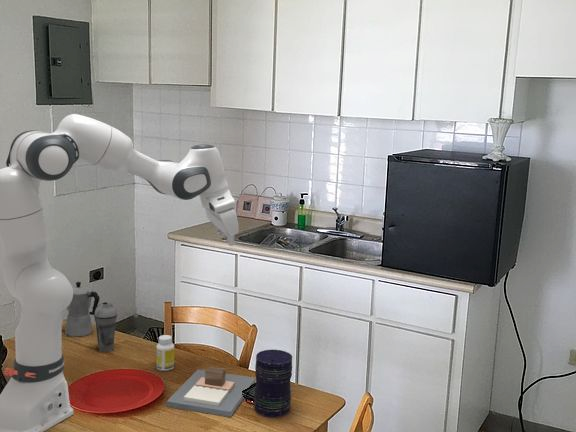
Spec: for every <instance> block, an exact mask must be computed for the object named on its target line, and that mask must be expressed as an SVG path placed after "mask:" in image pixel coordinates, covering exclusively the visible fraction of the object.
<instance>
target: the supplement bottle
mask: <svg viewBox="0 0 576 432" xmlns="http://www.w3.org/2000/svg"><path fill="white" fill-rule="evenodd" d="M155 350H156V353H155V354H156V355H155V359H156V360H155V363H156V364H155V366H156V369H157V370H159V371H162V372H163V371H164V372H166V371H171V370H173V369H174V368H175V344H174V343H173V337H172V335H168V334H162V335H160V336H159V337H158V343H157V344H156V347H155Z"/></svg>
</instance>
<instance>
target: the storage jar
mask: <svg viewBox="0 0 576 432" xmlns="http://www.w3.org/2000/svg"><path fill="white" fill-rule="evenodd" d="M254 375H255V388H254V394H253V395H254V396H253V401H254V402H253V403H254V407H253V410H254V412H255V413H256V414H258V415H259V416H261V417H266V418H272V419H273V418H275V419H276V418H281V417H284V416H286V415H288V414H289V413H290V412H291V401H292V400H291V399H292V397H291V395H292V393H291V379H292V377H293V376H292V375H293V355H292V354H291V353H290V352H287V351H286V350H280V349H266V350H265V349H264V350H261V351H259V352H257V354H256V355H255V372H254Z"/></svg>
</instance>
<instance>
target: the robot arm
mask: <svg viewBox="0 0 576 432" xmlns="http://www.w3.org/2000/svg"><path fill="white" fill-rule="evenodd" d="M10 144H11V145H10V147H9V153H8V156H7V158H6V162H5V164H6V167H3V168H0V244H1V250H2V260H3V271H4V272H3V283H4V285H5V287H6V289H7V291H8V293H9V294H10V295H11V296H12V297H13V298H15V299H16V300H18V301H19V303H20V308H21V313H20V318H19V323H18V325H17V326H16V328H15V332H14V339H15V340H14V343H15V344H14V346H15V359H14V360H13V364H12V368H11V367H5V369H4V371H3V375H5V376H6V377H9V376H10V379H9V381H8V382H7V383H6V385H5V386H4V388H3V390H2V391H1V393H0V432H45V431H47V430H49V429H50V428H52V427H54V426H56V425H57V424H59V423H61V422H62V421H64V420H66V419H68V418H70V417H71V416H72V415H74V413H75V412H74V411H75V410H74V408H73V407H71V402H70V394H69V386H68V382H67V380H66V377H65V373H64V369H65V358H64V357H65V356H64V354H63V353H62V351H63V349H62V348H63V347H62V342H63V341H62V340H63V337H62V335H63V334H62V333H63V331H62V330H63V323H64V317H65V313H66V310H67V307H68V306H69V305H70V303H71V301H72V298H73V288H72V287H73V286H72V284H71V282H70V281H69V280H68V278H67V277H66V275H65V274H64V273H63V272H61V271H59V270H57V269H56V268H54V267H52V265H51V264H50V262H49V258H48V242H49V240H50V234H49V233H50V232H49V228H48V226H47V221H46V218H45V217H46V216H45V213H44V210H43V209H44V208H43V206H42V201H41V199H40V190H39V189H40V185H41V182H42V181H45V182H52V181H58V180H59V179H62V178H64V177H65V176H66V175H67V174H68V173H69V172H70V171H71V169H72V167H73V166H74V165H75V163H76V162H77V161H78V160H80V161H83V162H85V163H87V164H90V165H92V166H94V167H96V168H99V169H103V170H107V171H111V172H120V171H125V172H128V173H130V174H133V175H134V176H137V177H139V178H141V179H143V180H145V181H146V182H147V183H149V185H150V186H151V187H152V188H153V189H154V191H156V192H158V194H162V195H165V196H166V195H167V196H170V197H173V198H176V199H179V200H183V201H189V200H193V199H195V198H197V197H198V196H199V199H200V203H201V207H202V208H203V209H205V214H206V217H207V219H208V221H210V222H211V223H212V224H213V225H214V227H215V230H216V232H217V235H218V236H219V238H222V237H223V236H226V238H227V239H226V241H227V244H228V245H229V246H230V247H231V246H235V244H236V241H235V235H237V234H238V233H239V232H240V231H239V230H240V227H239V220H238V215H237V212H236V208H235V207H237V204H236V200H235V199H234V197H233V195H232V193H231V191H230V187H229V182H228V181H227V179H226V176H225V175H226V173H225V172H226V170H225V167H224V164H223V160H222V156H221V153H220V152H219V149H218V148H217V147H216V146H215V145H212V144H196V145H193V146H191V147H190V148H189V151H188V153H187V154H186V155H185V157H184V158H183V159H182V160H181V161H179V163H178V162H177V161H173V160H170V159H158V160H157V159H154V158H152V157H150V156H147V155H146V154H144V153H141V152H140V151H138V150H136V149H134V143H133V141H132V138H130V136H128V135H127V134H125V133H124V132H122V131H121V130H119V129H118V128H115V127H114V126H111V125H109V124H108V123H105V122H103V121H100V120H97V119H95V118H92V117H89V116H85V115H82V114H78V113H77V114H76V113H71V114H68V115H66V116H65V117H63V119H62V120H61V121H60V122H59V123H58V125H57V128H56V129H55V131H53V132H51V133H50V132H45V131H40V130H36V129H35V130H33V129H32V130H31V129H30V130H25V131H23V132H21V133H19V134H18V135H16V136H15V138H14V139H13V140H12V142H11V143H10Z"/></svg>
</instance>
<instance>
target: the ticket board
mask: <svg viewBox="0 0 576 432" xmlns="http://www.w3.org/2000/svg"><path fill="white" fill-rule="evenodd" d="M205 370H206V369H198V368H197V369H196V371H195V372H193V374H192V375H191V376H190V377H189V378H188V379H187V380H186V381H185V382H184V383H183V384H182V385H181V386H180V387H179V388H178V389H177V390H176V391H175V392H174V393H173V394H172V395H171V396H170V397H169V398H168V400H167V401H166V407H167V408H173V409H177V410H178V409H179V410H185V411H191V412H197V413H202V414H203V413H204V414H210V415H215V416H221V417H228V418H231V417H232V415H234V413H235V412H236V410H237V409H238V408H239V406H240V405H241V403H242V402H243V401H244V399H245V398H244V397H243V395H242V391H243V390H245V389H247V388H249V387H250V386H251V385H252V384H254V383H255V384H256V377H250V376H245V375H238V374H232V373H226V375H225V381H230V382H235V386H234V387H233V388H232V390H231V391H230V392H229V393H228V391H227V390H221V389H215V388H208V387H202V386H195V384H196V383H197V382H198V381H199V380H200V378H201V377H204V378H205ZM255 384H254V385H255Z"/></svg>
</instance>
